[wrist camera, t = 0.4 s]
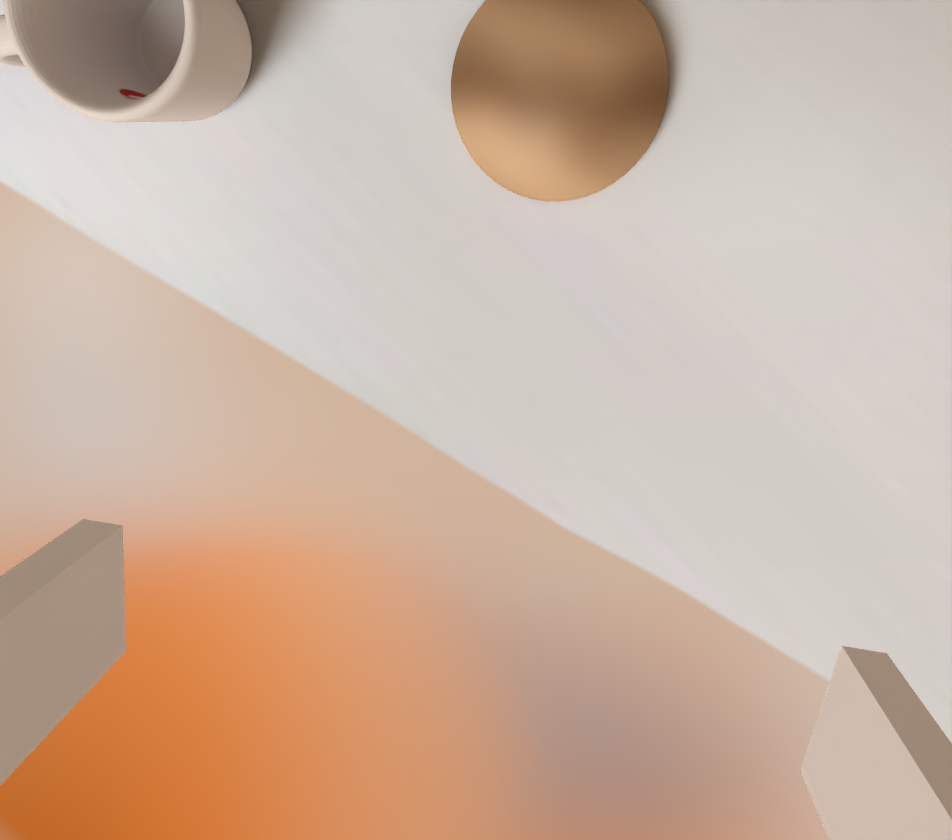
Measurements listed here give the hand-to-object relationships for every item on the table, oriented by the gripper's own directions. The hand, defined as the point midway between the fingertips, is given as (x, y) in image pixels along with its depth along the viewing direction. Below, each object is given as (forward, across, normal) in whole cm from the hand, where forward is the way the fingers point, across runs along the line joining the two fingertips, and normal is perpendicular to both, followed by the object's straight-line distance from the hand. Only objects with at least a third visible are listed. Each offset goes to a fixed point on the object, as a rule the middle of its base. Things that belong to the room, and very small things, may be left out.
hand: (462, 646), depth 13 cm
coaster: (+26, 0, +13) cm, 29 cm away
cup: (+26, -19, +12) cm, 35 cm away
